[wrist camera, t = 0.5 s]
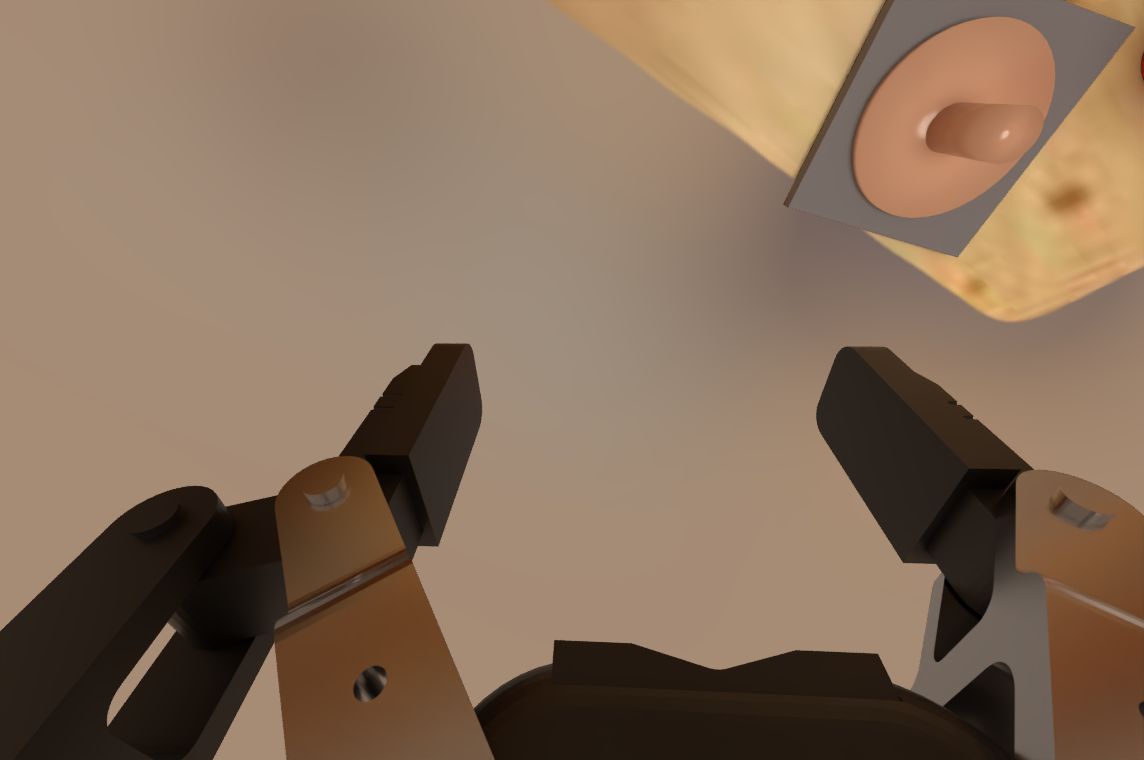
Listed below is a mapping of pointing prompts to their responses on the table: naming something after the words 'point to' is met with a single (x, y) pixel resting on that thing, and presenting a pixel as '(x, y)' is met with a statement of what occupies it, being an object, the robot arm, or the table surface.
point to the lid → (953, 116)
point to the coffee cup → (1143, 67)
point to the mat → (906, 19)
